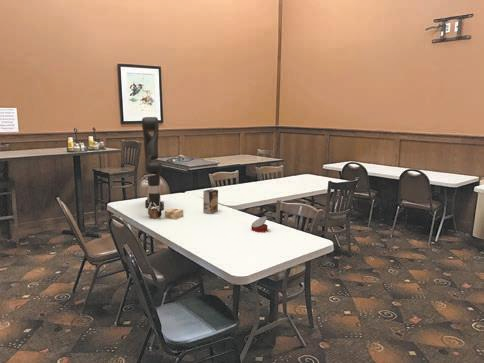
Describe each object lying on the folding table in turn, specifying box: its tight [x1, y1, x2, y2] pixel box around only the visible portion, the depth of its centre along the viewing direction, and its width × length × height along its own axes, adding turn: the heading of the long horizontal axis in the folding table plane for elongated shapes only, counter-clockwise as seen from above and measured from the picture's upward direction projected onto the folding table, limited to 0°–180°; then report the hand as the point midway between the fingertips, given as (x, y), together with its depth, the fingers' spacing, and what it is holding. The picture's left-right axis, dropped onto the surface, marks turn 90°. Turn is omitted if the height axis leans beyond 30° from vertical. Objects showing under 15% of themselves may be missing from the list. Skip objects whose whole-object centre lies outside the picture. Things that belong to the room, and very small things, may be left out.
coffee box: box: [202, 189, 219, 215], centre depth 290 cm, size 9×6×16 cm
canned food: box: [250, 216, 268, 233], centre depth 249 cm, size 11×10×10 cm
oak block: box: [164, 208, 184, 220], centre depth 276 cm, size 9×9×5 cm
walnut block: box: [148, 207, 161, 220], centre depth 274 cm, size 5×5×6 cm
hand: (154, 215), depth 274 cm, fingers open, 8 cm apart
